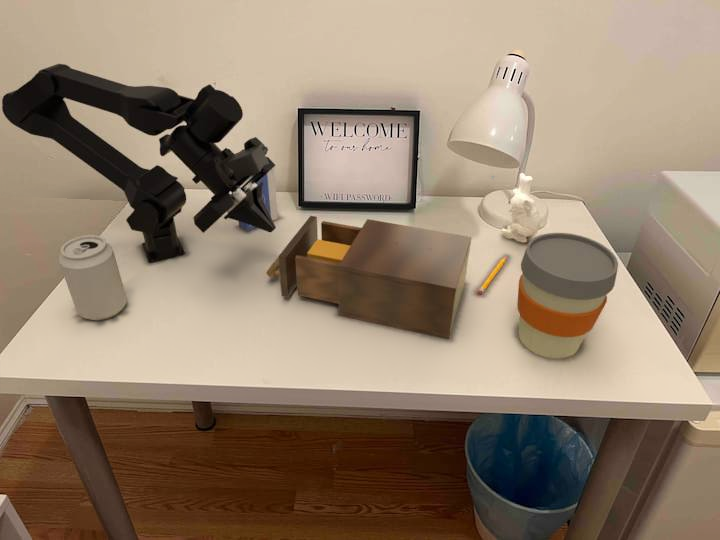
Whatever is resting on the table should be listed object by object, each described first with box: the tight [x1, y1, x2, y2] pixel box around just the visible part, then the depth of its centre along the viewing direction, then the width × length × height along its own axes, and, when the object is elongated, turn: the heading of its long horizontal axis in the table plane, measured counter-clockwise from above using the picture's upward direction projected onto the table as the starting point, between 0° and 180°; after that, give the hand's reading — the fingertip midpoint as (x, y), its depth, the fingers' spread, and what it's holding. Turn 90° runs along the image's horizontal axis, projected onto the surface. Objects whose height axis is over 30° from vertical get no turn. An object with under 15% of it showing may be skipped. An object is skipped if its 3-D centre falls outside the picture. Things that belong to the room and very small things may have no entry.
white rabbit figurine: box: [500, 172, 541, 243], centre depth 106 cm, size 8×7×12 cm
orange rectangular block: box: [307, 238, 350, 263], centre depth 93 cm, size 6×4×5 cm
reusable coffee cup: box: [516, 232, 619, 360], centre depth 81 cm, size 13×13×15 cm
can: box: [58, 234, 128, 321], centre depth 86 cm, size 8×8×12 cm
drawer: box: [266, 215, 362, 305], centre depth 93 cm, size 21×13×8 cm, turn 72°
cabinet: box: [338, 218, 472, 340], centre depth 90 cm, size 18×15×10 cm
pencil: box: [476, 256, 508, 296], centre depth 99 cm, size 1×13×1 cm, turn 148°
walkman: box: [236, 166, 279, 232], centre depth 109 cm, size 8×3×12 cm, turn 134°
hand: (273, 230), depth 93 cm, fingers closed
